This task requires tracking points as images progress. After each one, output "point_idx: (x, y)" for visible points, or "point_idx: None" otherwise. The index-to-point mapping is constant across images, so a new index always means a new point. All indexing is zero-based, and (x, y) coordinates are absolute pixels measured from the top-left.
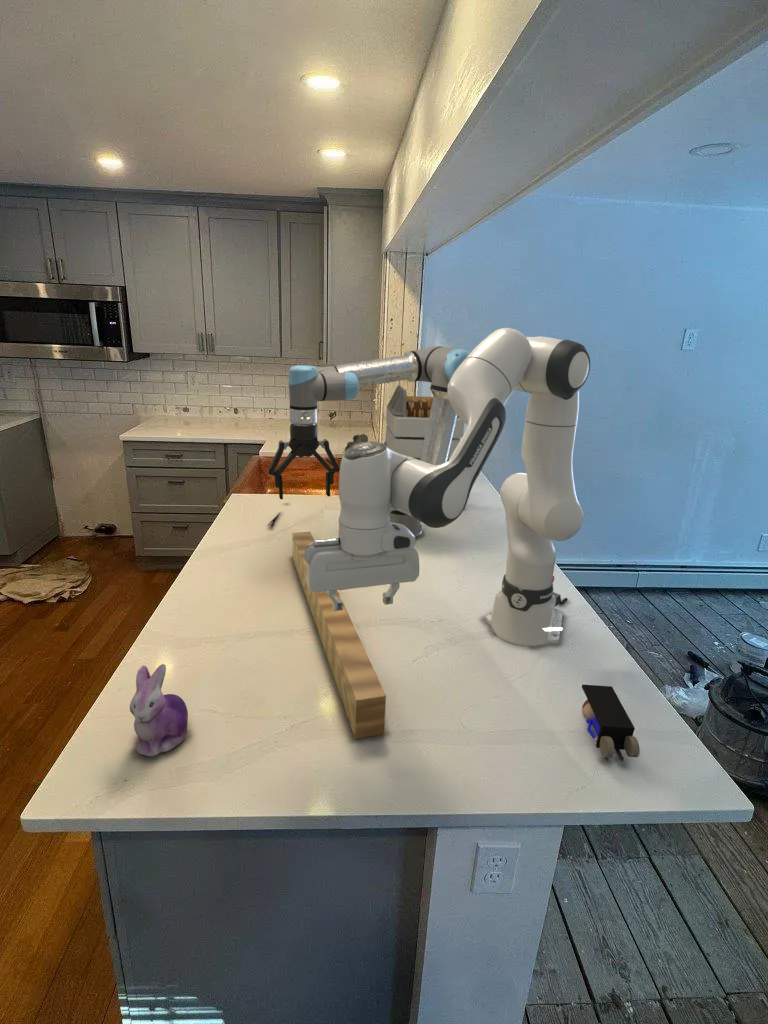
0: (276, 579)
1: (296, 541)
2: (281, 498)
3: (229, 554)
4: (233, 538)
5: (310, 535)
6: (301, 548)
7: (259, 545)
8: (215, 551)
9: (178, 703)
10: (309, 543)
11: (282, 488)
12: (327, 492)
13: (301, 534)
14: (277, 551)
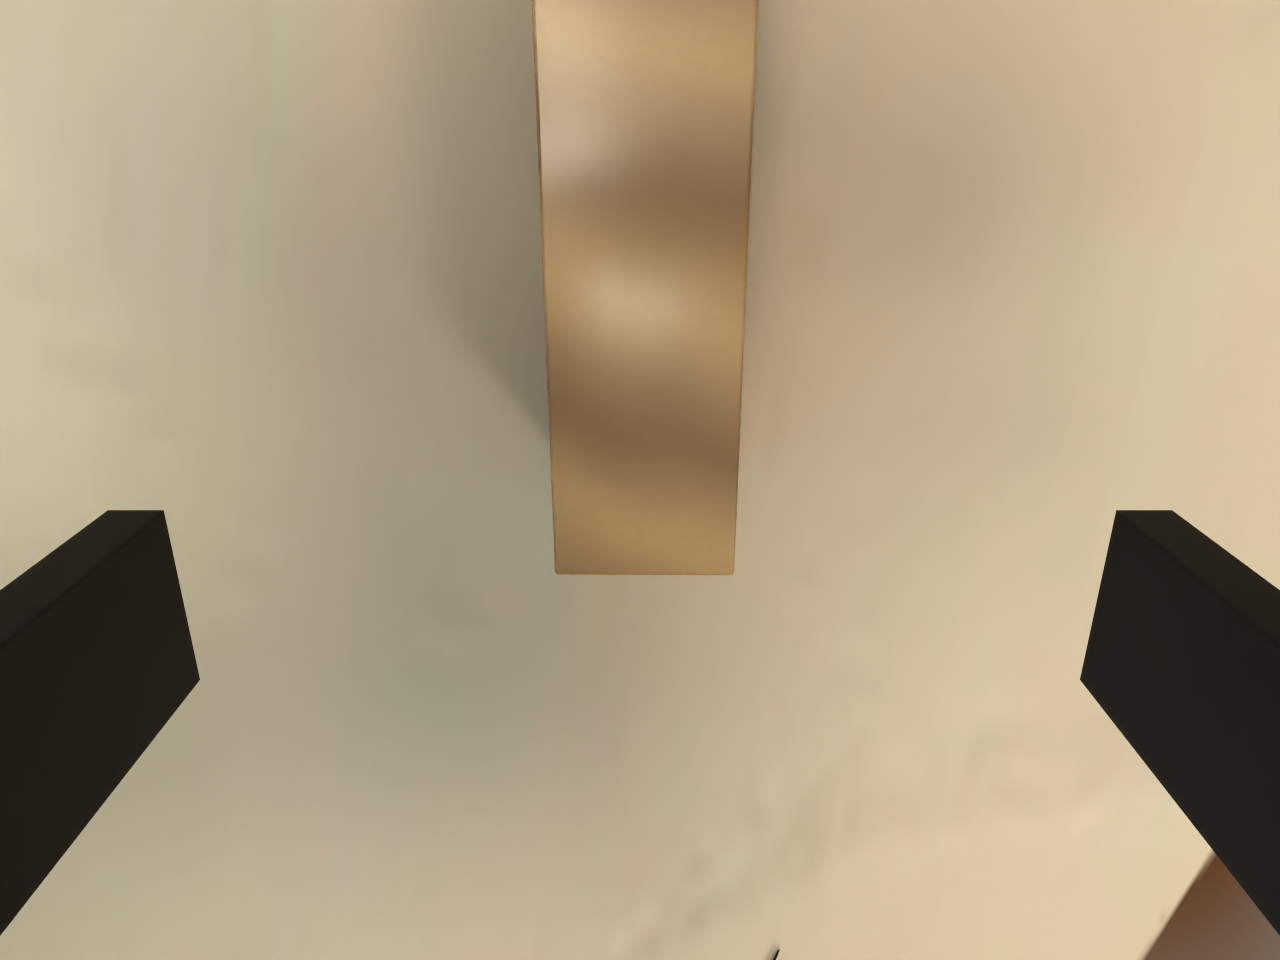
0: (915, 115)
1: (734, 355)
2: (1158, 516)
3: None
4: (1054, 856)
5: (568, 480)
6: (717, 151)
7: (907, 726)
8: None
9: None
10: (609, 276)
11: (1275, 636)
12: (121, 562)
13: (653, 519)
14: (802, 611)
